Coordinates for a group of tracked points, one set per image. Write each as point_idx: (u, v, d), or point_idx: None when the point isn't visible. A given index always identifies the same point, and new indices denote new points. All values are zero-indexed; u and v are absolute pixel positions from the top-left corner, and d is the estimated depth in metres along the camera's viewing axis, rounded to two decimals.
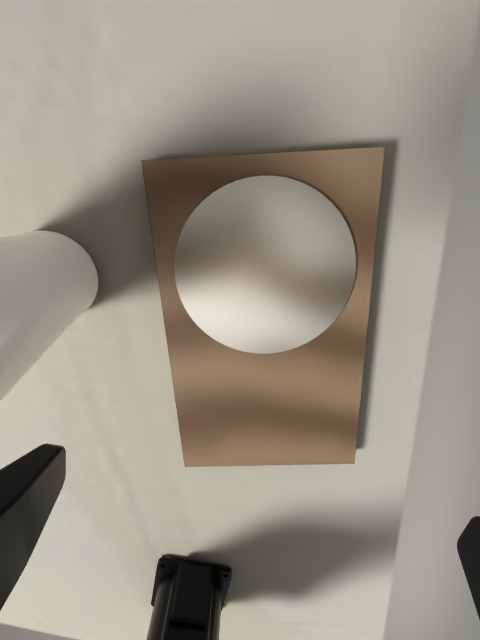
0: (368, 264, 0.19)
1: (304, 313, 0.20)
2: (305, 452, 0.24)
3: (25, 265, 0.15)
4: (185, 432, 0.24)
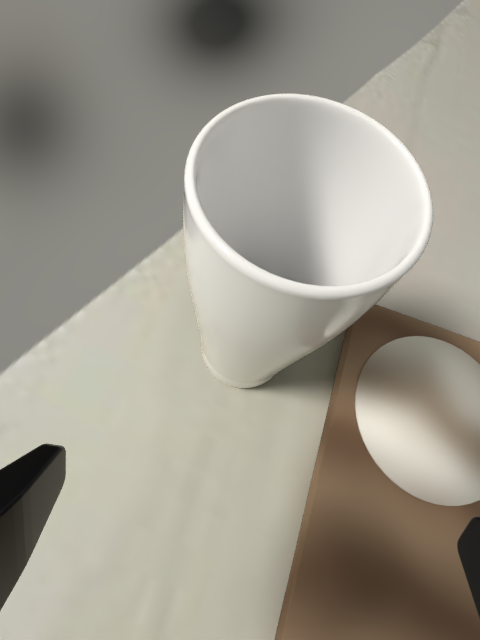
0: None
1: (467, 468, 0.20)
2: None
3: None
4: (302, 588, 0.17)
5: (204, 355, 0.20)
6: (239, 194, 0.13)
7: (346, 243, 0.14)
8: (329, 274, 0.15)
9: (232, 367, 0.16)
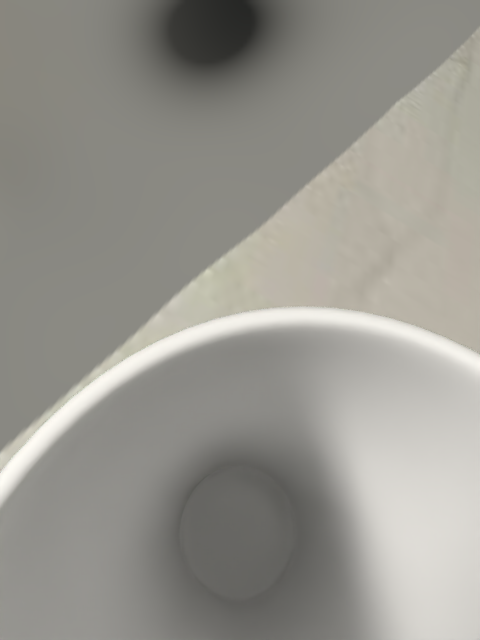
0: None
1: None
2: None
3: None
4: None
5: None
6: (184, 424, 0.07)
7: (401, 493, 0.07)
8: (366, 507, 0.09)
9: None
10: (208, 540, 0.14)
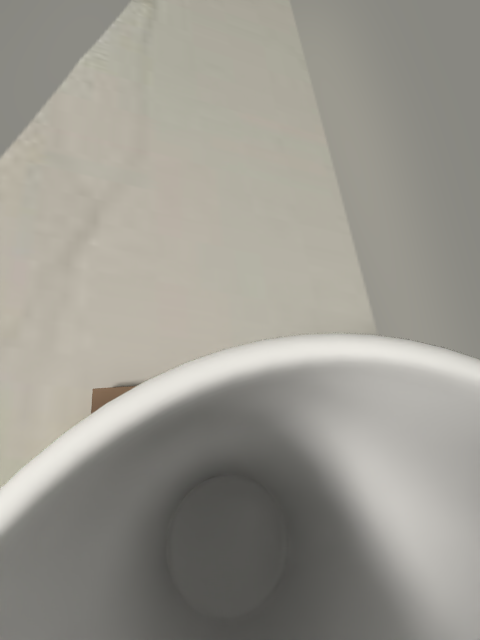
0: None
1: None
2: None
3: None
4: None
5: None
6: (175, 451, 0.06)
7: (418, 526, 0.06)
8: (373, 534, 0.08)
9: None
10: (196, 554, 0.13)
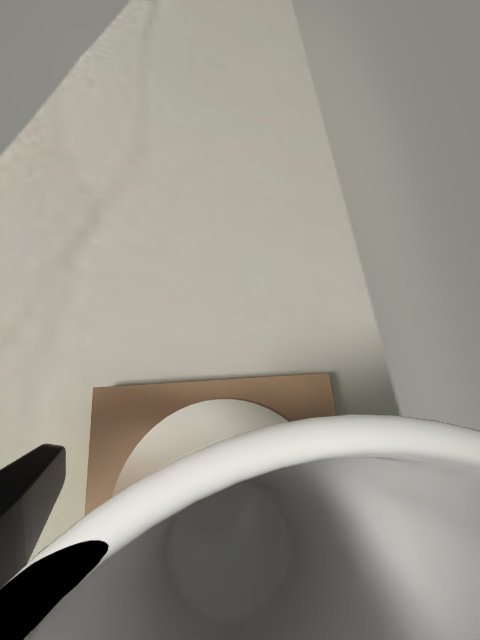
0: None
1: None
2: None
3: None
4: None
5: None
6: None
7: (429, 561, 0.06)
8: (378, 556, 0.08)
9: None
10: (197, 556, 0.13)
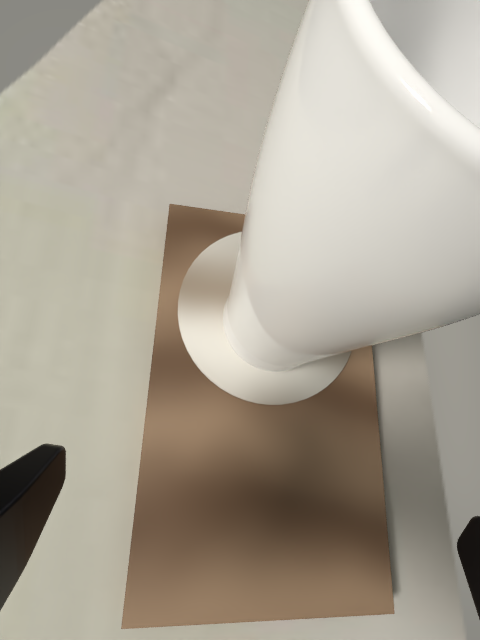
0: None
1: None
2: (322, 588, 0.16)
3: None
4: (141, 540, 0.15)
5: (229, 328, 0.16)
6: None
7: None
8: None
9: (279, 346, 0.12)
10: None
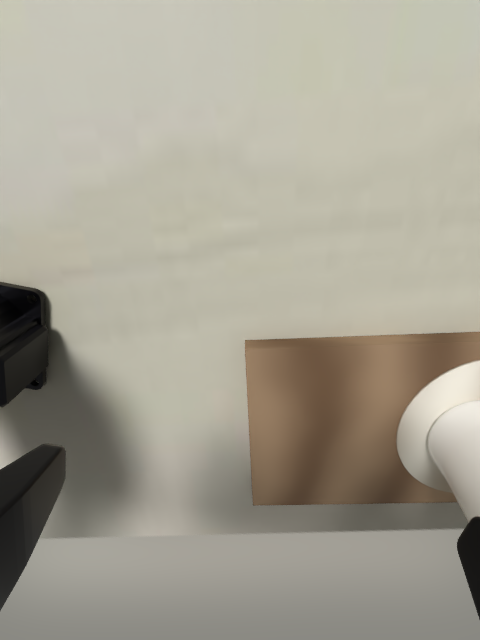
0: None
1: None
2: (268, 467, 0.23)
3: None
4: (300, 354, 0.19)
5: None
6: None
7: None
8: None
9: None
10: None
